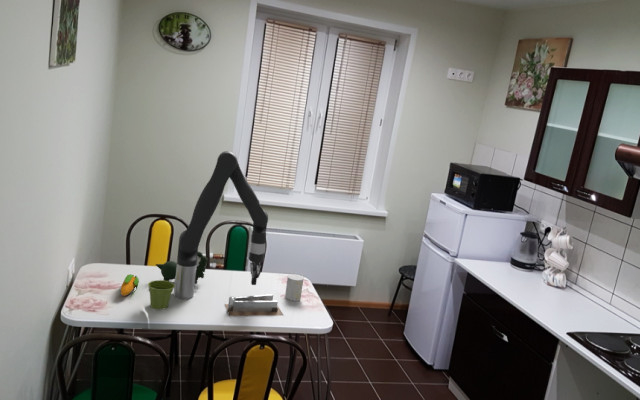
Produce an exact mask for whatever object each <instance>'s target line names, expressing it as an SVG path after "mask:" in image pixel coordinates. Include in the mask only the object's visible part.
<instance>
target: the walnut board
mask: <svg viewBox="0 0 640 400" xmlns="http://www.w3.org/2000/svg"><path fill="white" fill-rule="evenodd" d="M228 304H229V303H228ZM228 304H227V303H226V304H225V303H224V307H225V309H226V311H227V314H228V316H229V317H246V316H247V317H249V316H250V317H253V316H254V317H256V316H260V317H261V316H262V317H264V316H284V313H283V311H282V310H281V309H280V307H279V305H278V304H277V307H278V312H233V311H228Z"/></svg>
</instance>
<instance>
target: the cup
mask: <svg viewBox="0 0 640 400" xmlns="http://www.w3.org/2000/svg"><path fill="white" fill-rule="evenodd" d="M304 279H305V278H304V277H303V276H302V275H300V274H289V275H287V280H286V286H285V292H284V293H285V294H284V298H285V299H287V300H289V301H295V302H296V301H298V302H301V299H302V292H303V284H304Z"/></svg>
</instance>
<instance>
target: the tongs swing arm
mask: <svg viewBox="0 0 640 400" xmlns="http://www.w3.org/2000/svg"><path fill="white" fill-rule="evenodd" d="M234 297H235V296H234ZM273 297H274V294H273V293H269V294H260V295H259V294H258V295H257V294H256V295H244V296H236V297H235V298H236V300H235V301H274V300H273Z"/></svg>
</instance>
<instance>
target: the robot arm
mask: <svg viewBox="0 0 640 400" xmlns="http://www.w3.org/2000/svg"><path fill="white" fill-rule="evenodd" d="M229 179H230V181H231V182H232V184H233V186H234V188H235V190H236V192H237V194H238V196H239V198H240V200H241V202H242V204H243V205H244V206H245V208H246V210H247V212H248V215H249V217H250V218H251V220H252V232H251V237H250V245H249V253H248V260H249V261H250V262H249V263H250V264H249V265H250V275H251V281H250V284H251V285H252V286H256V285H257V280H258V279H259V277H260V275H261V273H262V271H261V270H260V269H261V263H263V262H264V261H265V255H266V254H265V253H266V239H267V227H268V222H269V214H268V213H267V212H266V210H264V209H263V207H262V206H261V204H260V200H259V198H258V196H257V194H256V193H255V191H254V190H253V188H252V186H251V185H250V184H249V182H248V180H247V179H246V177H245V175H244V173H243V171H242V170H241V167H240V164H239V161H238V158H237V156H236V154H235V153H234V152H232V151H229V150H226V151H222V152H221V153H220V154H219V155H218V157H217V160H216V164H215V167H214V169H213V172H212V175H211V176H210V179H209V180H208V182H207V183H206V185H205V186H204V188H203V190H202V191H201V192H200V195H199V197H198V199H197V202H196V204H195V206H194V209H193V212H192V216H191V220H190V222H189V225H188V227H187V228H186V230H184V231H182V232H181V233H180V235H179V239H178V248H177V259H176V260H177V261H176V263H177V268H176V276H175V279H174V282H173V284H174V285H175V287H174V288H173V291H172V293H173V296H174V299H177V300H189V299H193V298H194V294H195V285H196V284H195V276H196V268H197V266H198V265H197V264H198V256H197V255H198V252H199V245H200V242H201V240H202V236H203V234H204V231H205V229H206V227H207V225H208V224H209V222H210V220H211V219H212V217H213V215H214V214H215V211H216V209H217V208H218V205H219V204H220V203H219V202H220V201H221V198H222V196H223V193H224V190H225V186H226V185H227V182H228V181H229Z"/></svg>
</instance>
